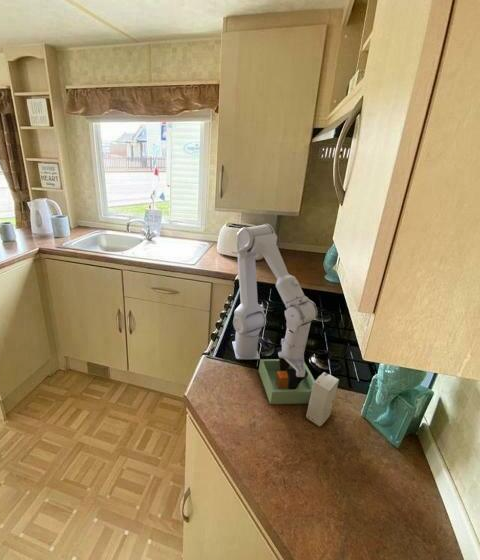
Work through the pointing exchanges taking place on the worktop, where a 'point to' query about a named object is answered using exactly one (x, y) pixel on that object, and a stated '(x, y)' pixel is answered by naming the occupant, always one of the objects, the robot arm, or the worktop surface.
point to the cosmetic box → (322, 398)
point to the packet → (282, 379)
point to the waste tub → (284, 395)
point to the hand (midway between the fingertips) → (287, 378)
